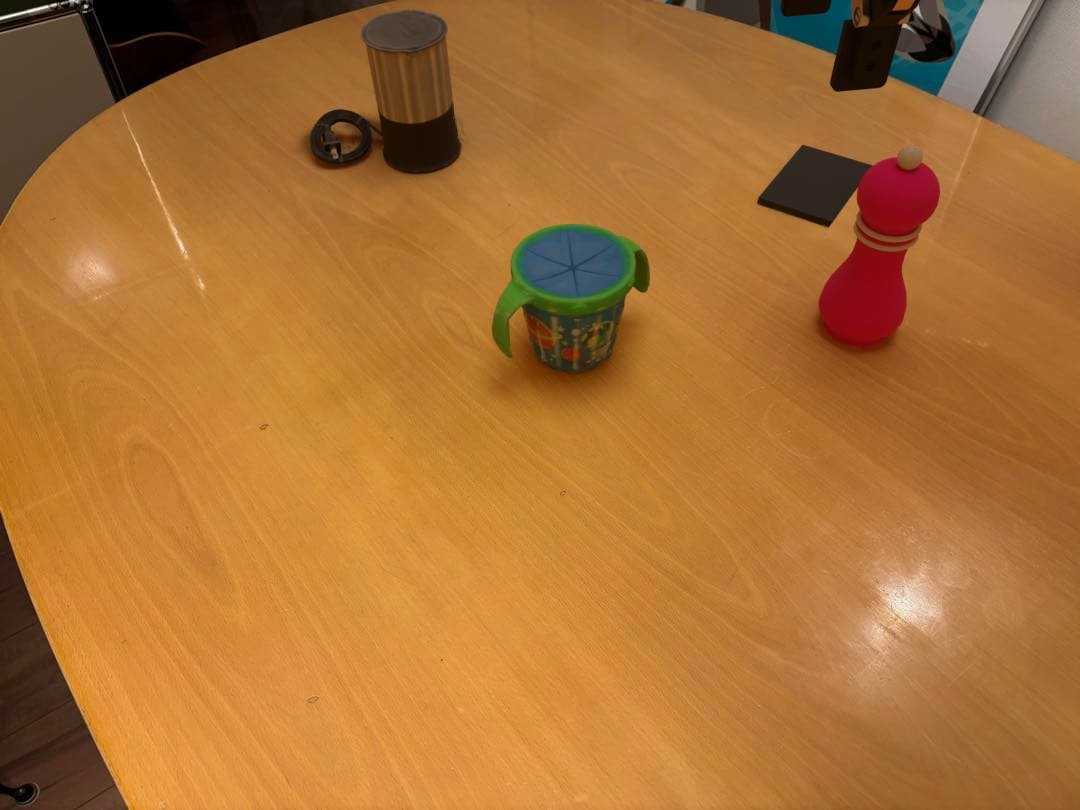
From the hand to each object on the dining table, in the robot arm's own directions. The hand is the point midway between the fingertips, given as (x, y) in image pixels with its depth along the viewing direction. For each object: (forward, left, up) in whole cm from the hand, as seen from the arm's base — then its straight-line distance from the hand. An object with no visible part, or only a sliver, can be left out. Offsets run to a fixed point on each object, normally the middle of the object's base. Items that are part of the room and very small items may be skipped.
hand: (828, 48), depth 54 cm
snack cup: (+16, +5, -30) cm, 35 cm away
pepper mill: (-5, -9, -30) cm, 32 cm away
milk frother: (+52, -11, -30) cm, 61 cm away
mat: (+1, -30, -30) cm, 43 cm away
